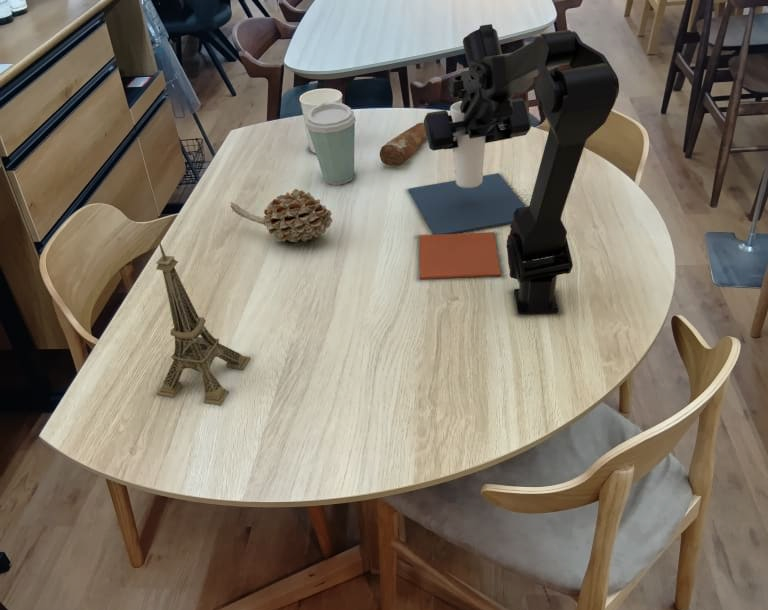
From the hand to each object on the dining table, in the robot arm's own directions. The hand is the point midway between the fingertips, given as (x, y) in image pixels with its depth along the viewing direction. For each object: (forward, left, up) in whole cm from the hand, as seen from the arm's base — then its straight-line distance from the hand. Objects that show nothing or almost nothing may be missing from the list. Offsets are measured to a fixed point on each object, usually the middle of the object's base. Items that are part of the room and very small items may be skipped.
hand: (466, 143), depth 128 cm
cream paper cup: (+30, +31, -12) cm, 45 cm away
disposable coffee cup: (+13, +27, -12) cm, 33 cm away
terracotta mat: (-20, +2, -12) cm, 24 cm away
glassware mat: (-1, -1, -12) cm, 12 cm away
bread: (+25, +12, -12) cm, 30 cm away
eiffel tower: (-51, +42, -12) cm, 68 cm away
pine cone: (-11, +36, -12) cm, 40 cm away
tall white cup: (-2, -1, -8) cm, 8 cm away
